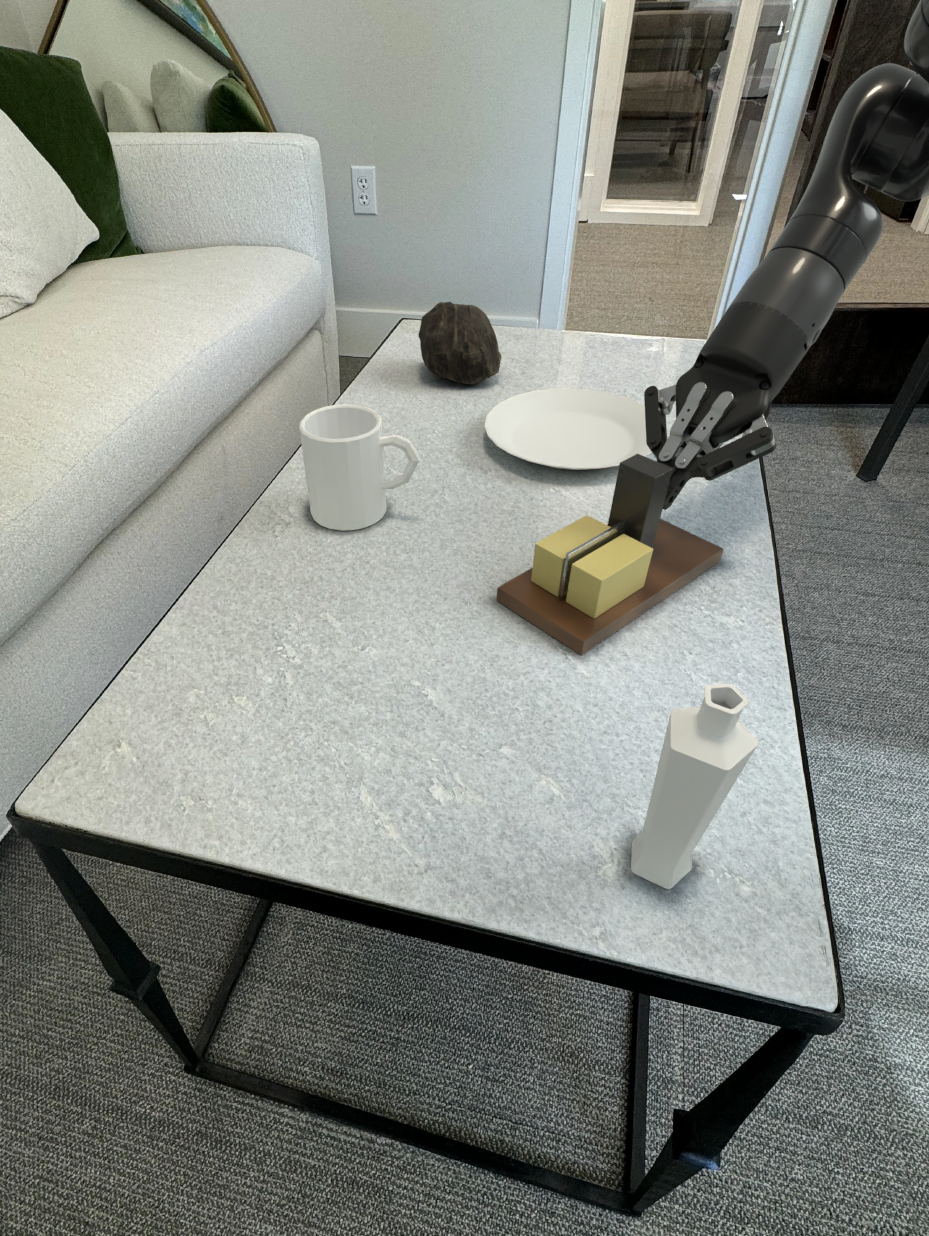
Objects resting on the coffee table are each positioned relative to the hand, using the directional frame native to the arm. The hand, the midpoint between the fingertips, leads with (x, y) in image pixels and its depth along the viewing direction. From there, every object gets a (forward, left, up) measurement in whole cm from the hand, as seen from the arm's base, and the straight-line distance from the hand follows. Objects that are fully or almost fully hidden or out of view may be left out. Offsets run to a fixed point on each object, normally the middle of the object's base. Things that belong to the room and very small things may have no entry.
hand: (648, 507), depth 65 cm
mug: (+26, +9, -7) cm, 29 cm away
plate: (+18, -18, -6) cm, 26 cm away
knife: (+1, +6, -4) cm, 7 cm away
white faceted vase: (-18, +27, -6) cm, 33 cm away
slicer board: (0, +3, -6) cm, 7 cm away
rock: (+41, -25, -7) cm, 49 cm away
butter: (+1, +7, -5) cm, 9 cm away
